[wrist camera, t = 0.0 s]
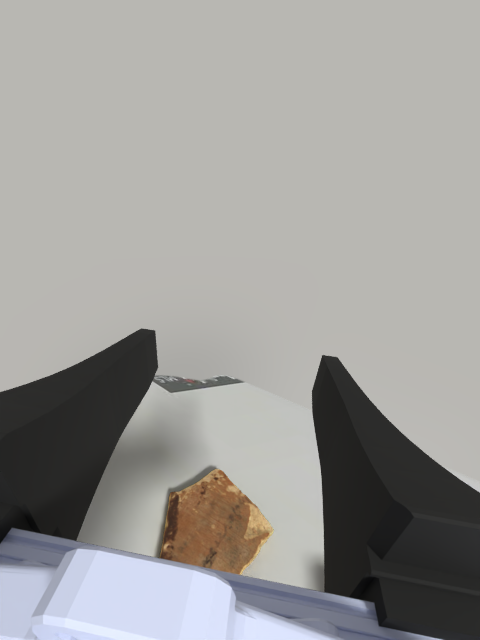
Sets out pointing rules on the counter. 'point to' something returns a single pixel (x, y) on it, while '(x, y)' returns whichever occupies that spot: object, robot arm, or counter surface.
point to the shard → (214, 526)
